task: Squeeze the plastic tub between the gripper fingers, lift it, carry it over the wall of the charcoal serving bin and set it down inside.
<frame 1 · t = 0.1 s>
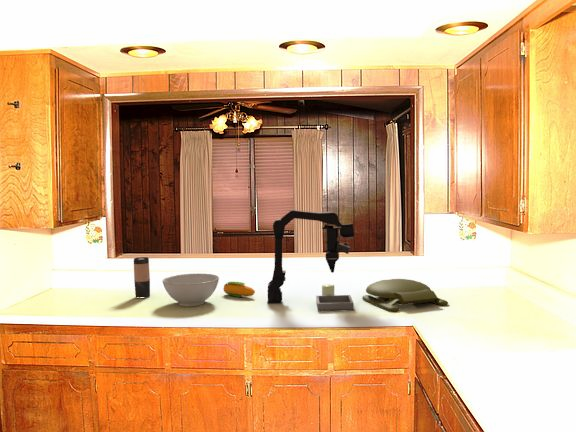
hand: (332, 270, 276), 15 cm above the worktop, fingers open, 9 cm apart
travel mug: (142, 297, 295), on the worktop
salad tub: (328, 299, 279), on the worktop
serving bin: (334, 306, 265), on the worktop
decorative bowl: (191, 303, 279), on the worktop
corn: (240, 296, 292), on the worktop
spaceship: (400, 302, 274), on the worktop
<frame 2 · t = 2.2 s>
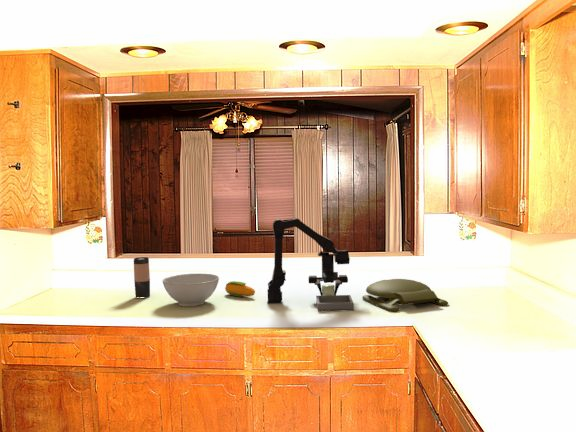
hand: (328, 296, 279), 2 cm above the worktop, fingers closed on salad tub, 6 cm apart
salad tub: (328, 299, 279), on the worktop, touching gripper
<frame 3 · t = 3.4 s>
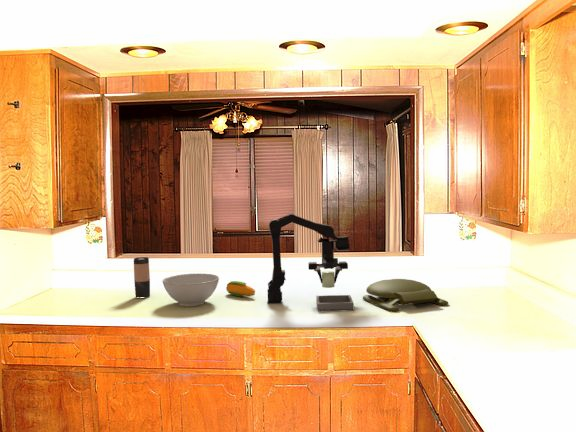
hand: (328, 283, 278), 8 cm above the worktop, fingers closed on salad tub, 6 cm apart
salad tub: (328, 286, 279), point 7 cm above the worktop, touching gripper
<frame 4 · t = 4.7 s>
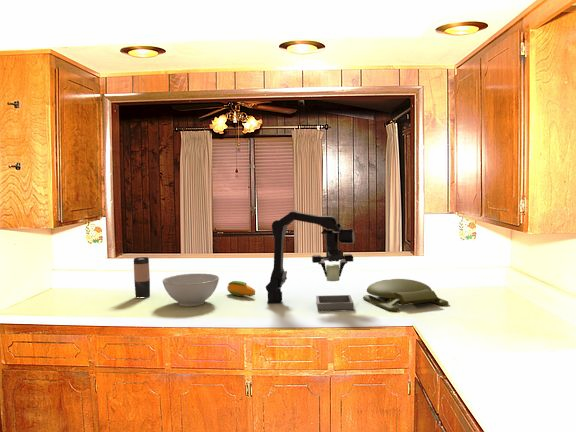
hand: (333, 276, 268), 13 cm above the worktop, fingers closed on salad tub, 6 cm apart
salad tub: (333, 280, 268), point 12 cm above the worktop, touching gripper
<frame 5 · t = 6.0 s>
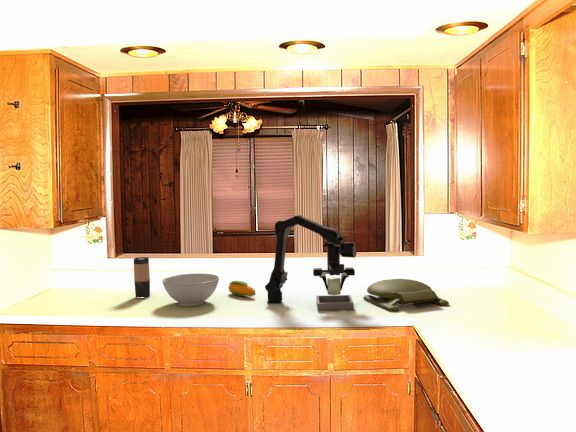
hand: (334, 290, 265), 8 cm above the worktop, fingers closed on salad tub, 6 cm apart
salad tub: (334, 293, 265), point 6 cm above the worktop, touching gripper
when the fingers open (4 cm above the worktop, at t = 7.2 s): salad tub drops 1 cm, resting on serving bin.
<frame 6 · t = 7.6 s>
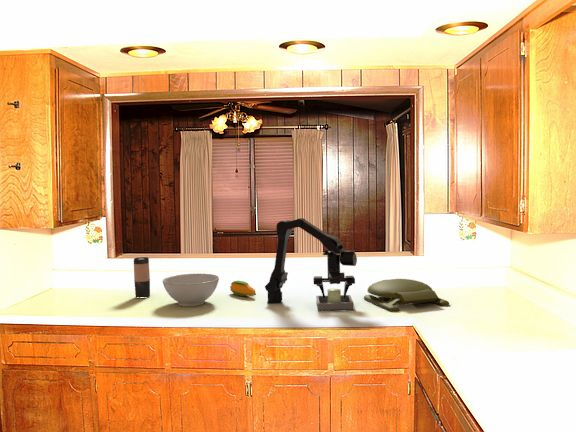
hand: (334, 298, 265), 4 cm above the worktop, fingers open, 9 cm apart
salad tub: (334, 304, 265), point 1 cm above the worktop, touching serving bin
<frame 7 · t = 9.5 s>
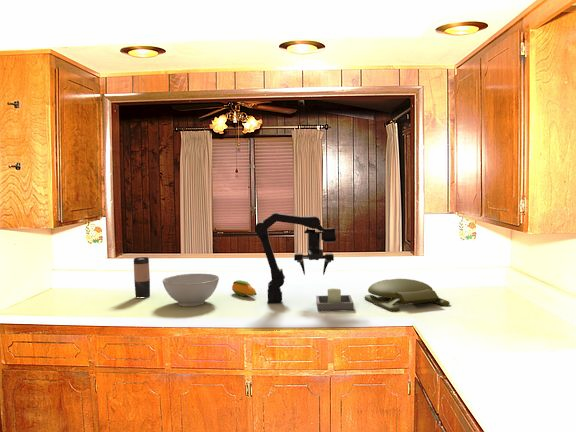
hand: (314, 274, 277), 13 cm above the worktop, fingers open, 9 cm apart
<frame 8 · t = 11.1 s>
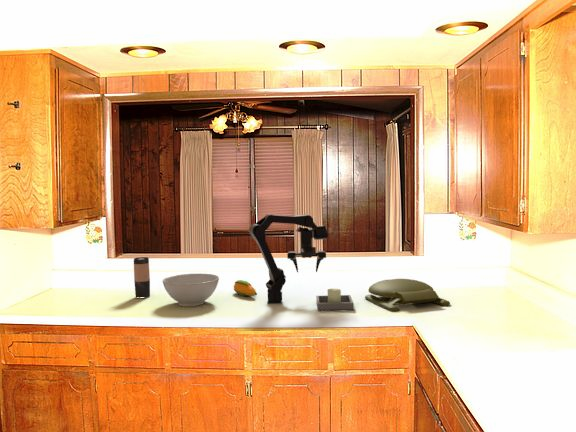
hand: (307, 272, 282), 13 cm above the worktop, fingers open, 9 cm apart
at the end: salad tub inside the target area on the serving bin (0.1 cm from its centre), point 0.8 cm above the serving bin's base; salad tub tilted 0°; the gripper is holding nothing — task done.
